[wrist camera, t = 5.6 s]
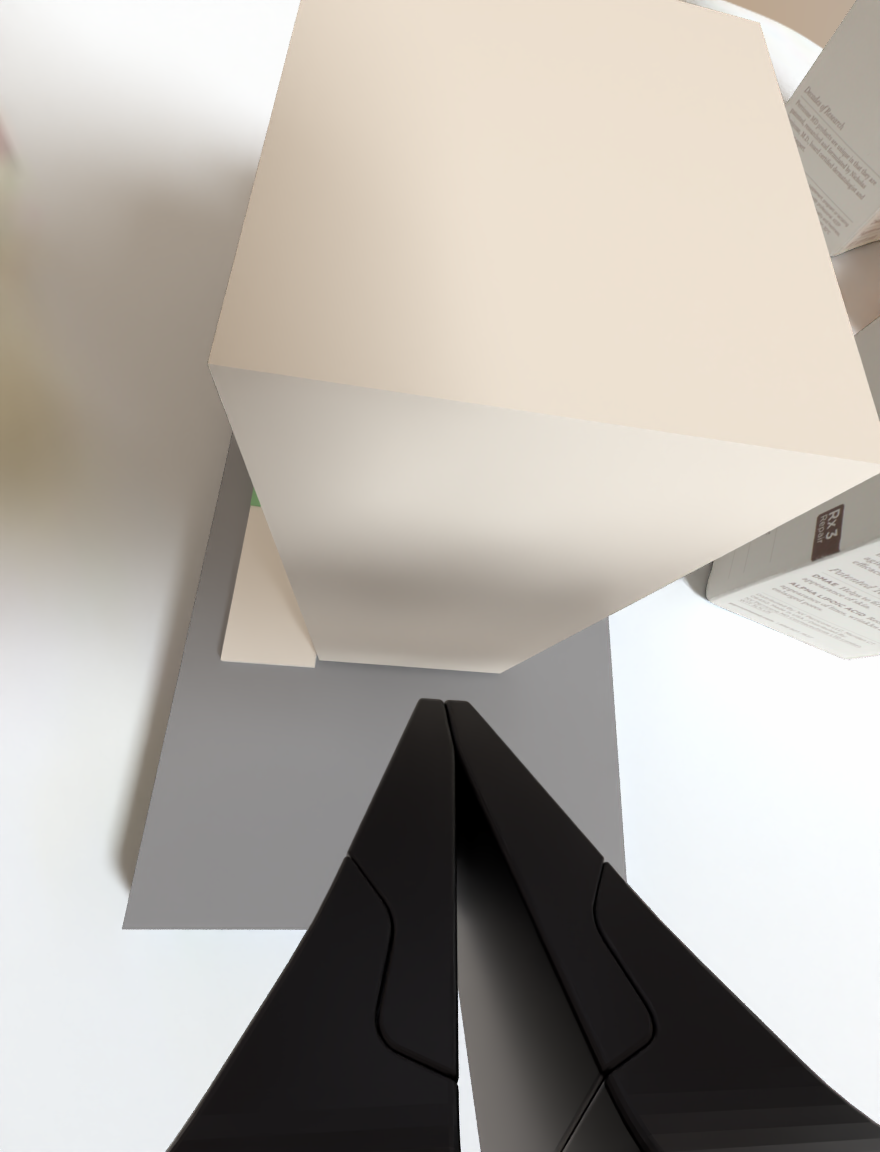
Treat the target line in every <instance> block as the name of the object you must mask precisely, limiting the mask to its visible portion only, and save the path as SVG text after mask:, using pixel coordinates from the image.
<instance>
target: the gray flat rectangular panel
mask: <svg viewBox="0 0 880 1152" xmlns="http://www.w3.org/2000/svg"><path fill="white" fill-rule="evenodd" d="M420 698H432V699H441V700H442V701H443V702H445V701H446V700H463V701H468V702H470V703H471V704H472V705H473V707H474V708H475V709H476V710H477V711H478V712H479V714H480V715H481V716H482V717H483V718H484V719H485V720H486V722H487V723H488V724H489V725H490V726H491V727H492V728H493V730H494V731H495V732H496V733H497V734H498V735H499V737H500V738H501V739H502V740H503V741H504V742H505V743H506V745H507V746H508V747H509V748H510V749H511V750H512V751H513V753H514V754H515V755H516V756H517V757H518V758H519V760H520V761H521V762H522V763H523V764H524V765H525V766H526V768H527V769H528V770H529V771H530V772H531V773H532V774H533V776H534V777H535V778H536V779H537V780H538V781H539V783H540V784H541V785H542V786H543V787H544V788H545V789H546V791H547V792H548V793H549V794H550V795H551V796H552V797H553V799H554V800H555V801H556V802H557V803H558V804H559V806H560V807H561V808H562V809H563V810H564V811H565V812H566V814H567V815H568V816H569V817H570V818H571V819H572V821H573V822H574V823H575V824H576V825H577V826H578V827H579V829H580V830H581V831H582V832H583V833H584V834H585V835H586V837H587V838H588V839H589V840H590V841H591V842H592V844H593V845H594V846H595V847H596V848H597V849H598V850H599V852H600V853H601V854H602V855H603V856H604V859H605V860H604V862H609V863H610V864H611V865H612V866H613V867H614V869H615V870H616V871H617V872H618V873H619V874H620V875H621V877H622V878H623V879H624V880H625V881H626V882H627V879H626V865H625V851H624V836H623V822H622V807H621V793H620V778H619V764H618V750H617V735H616V721H615V706H614V692H613V678H612V663H611V649H610V634H609V620H608V617H606V618H604V619H602V620H600V621H599V622H597V623H595V624H593V625H591V626H589V627H587V628H585V629H583V630H581V631H580V632H578V633H576V634H574V635H572V636H570V637H568V638H566V639H564V640H563V641H561V642H559V643H557V644H555V645H553V646H551V647H549V648H547V649H545V650H544V651H542V652H540V653H538V654H536V655H534V656H532V657H530V658H528V659H527V660H525V661H523V662H521V663H519V664H517V665H515V666H513V667H511V668H509V669H508V670H506V671H504V672H502V673H500V674H499V673H485V672H472V671H458V670H444V669H431V668H417V667H404V666H390V665H377V664H363V663H350V662H336V661H323V660H319V658H318V656H317V653H316V651H315V648H314V645H313V643H312V640H311V637H310V635H309V632H308V629H307V627H306V624H305V621H304V619H303V616H302V613H301V611H300V608H299V605H298V603H297V600H296V598H295V595H294V592H293V590H292V587H291V584H290V582H289V579H288V576H287V574H286V571H285V568H284V566H283V563H282V560H281V558H280V555H279V552H278V550H277V547H276V544H275V542H274V539H273V537H272V534H271V531H270V529H269V526H268V523H267V521H266V518H265V515H264V513H263V510H262V507H261V505H260V502H259V499H258V497H257V494H256V491H255V489H254V486H253V484H252V481H251V478H250V476H249V473H248V470H247V468H246V465H245V462H244V460H243V457H242V454H241V452H240V449H239V446H238V444H237V441H236V438H235V436H234V433H233V432H232V437H231V441H230V446H229V450H228V455H227V459H226V464H225V468H224V473H223V477H222V482H221V486H220V491H219V495H218V500H217V504H216V509H215V513H214V518H213V522H212V527H211V531H210V536H209V540H208V545H207V549H206V554H205V558H204V563H203V567H202V572H201V576H200V581H199V585H198V590H197V594H196V599H195V603H194V608H193V612H192V617H191V621H190V626H189V630H188V635H187V639H186V644H185V648H184V653H183V657H182V662H181V666H180V671H179V675H178V680H177V684H176V689H175V693H174V698H173V702H172V707H171V711H170V715H169V720H168V724H167V729H166V733H165V738H164V742H163V747H162V751H161V756H160V760H159V765H158V769H157V774H156V778H155V783H154V787H153V792H152V796H151V801H150V805H149V810H148V814H147V819H146V823H145V828H144V832H143V837H142V841H141V846H140V850H139V855H138V859H137V864H136V868H135V873H134V877H133V882H132V886H131V891H130V895H129V900H128V904H127V909H126V913H125V918H124V922H123V927H122V929H295V930H308V928H309V926H310V924H311V923H312V921H313V919H314V917H315V915H316V913H317V911H318V909H319V908H320V906H321V904H322V902H323V900H324V898H325V896H326V894H327V892H328V890H329V888H330V886H331V884H332V882H333V880H334V878H335V876H336V874H337V871H338V869H339V867H340V865H341V863H342V861H343V859H344V857H346V854H347V851H348V849H349V847H350V845H351V842H352V840H353V838H354V836H355V834H356V832H357V830H358V828H359V825H360V823H361V821H362V819H363V817H364V815H365V813H366V810H367V808H368V806H369V804H370V802H371V800H372V798H373V795H374V793H375V791H376V789H377V787H378V785H379V783H380V781H381V778H382V776H383V774H384V772H385V770H386V768H387V766H388V763H389V761H390V759H391V757H392V755H393V753H394V751H395V749H396V746H397V744H398V742H399V740H400V738H401V736H402V734H403V731H404V729H405V727H406V725H407V723H408V721H409V719H410V716H411V714H412V712H413V710H414V708H415V706H416V704H417V702H418V700H419V699H420Z"/></svg>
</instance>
